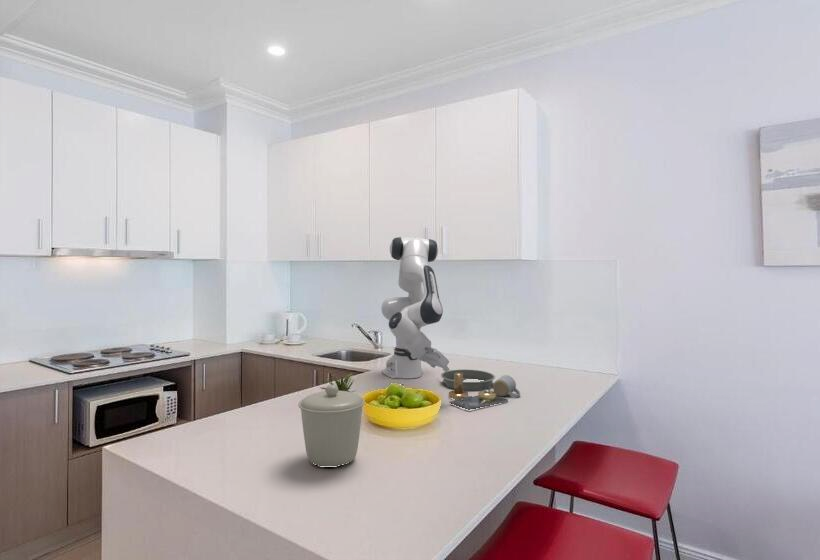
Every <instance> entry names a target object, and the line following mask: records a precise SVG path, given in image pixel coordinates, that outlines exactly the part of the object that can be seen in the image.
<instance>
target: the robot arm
mask: <svg viewBox="0 0 820 560" xmlns="http://www.w3.org/2000/svg"><path fill="white" fill-rule="evenodd" d="M391 240H392V241H391V242H390V244H389V253H390V255H391V258H392V259H393V260H397V261H400V263H399V269H398V281H397V283H398V287H399V288H400V289H401V290H402V291H404V292H406V293H408V295H407V296H401V297H399V296H398V297H390V298H386V299H384V300H383V302H382V304H381V313H382V316H384V318H385V319H386V320H388V329H389V330H390V332H391V333H392V335H393V336H394V337H395V347H394V348H393V351H394V352H393V354H392V356H391V357H389V358H388V359H387V360H386V363H385V364H386V366H385V368H384V369H382V370H381V373H382V374H383V375H385V376H387V377H389V378H392V379H404V380H405V379H417V378H420V377H422V375H423V373H424V372H423V370H422V363H421V362H424V363H426V364H428V365H429V366H430V367H431V368H434V369H435V368H436V367H439V368H441V369H442V371H443V372H448V371H450V368H449V367H448V365H449V363H450V360H449V359H448V358H447V357H446V356H445V355H444V354H443V353H442V352H441V351H440V350H439V349H436V348H434V347H432V341H431V340H430V339H429V338H428V337H427V335H425V333H424V332H423V331H421V328H422V327H425V326H428V325H432V324H436V323H439V322H440V321H441V318H442V316H443V313H444V309H443V305H442V302H441V301H440V300H441V299H440V296H439V295H440V294H439V289H438V284H437V278H436V275H435V272H434V269H433V268H432V267H431V266H430V265H429V263H431V262H434V261H435V260H436V259H437V257H438V254H439V246H438V243H437V241H436V240H435V239H429V238H428V239H427V238H422V237H401V236H399V237H394V238H392V239H391ZM422 285H423V287H422Z"/></svg>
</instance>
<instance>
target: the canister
mask: <svg viewBox="0 0 820 560" xmlns="http://www.w3.org/2000/svg"><path fill="white" fill-rule="evenodd" d="M325 388H326V389H324V390H322V391H317V392H314V393H311V394H309V395H307V396H305V397H304V398H303V399H302V398H301V400H299V401H298V408H299V409H300V413H301V414H300V415H301V421H302V422H301V423H302V431H303V439H304V445H305V451H306V452H305V453H306V456H307V459H308V461H309V462H310V463H311V464H312V463H314V464H316V465H319V466H338V465H342V464H346V463H348V462H350V461H351V462H353V461H354V460H355V458H356V456H357V453H358V448H359V442H360V441H359V440H360V433H361V426H362V424H361V423H362V415H363V413H362V412H363V406H364V405H365V403H366V400H365V398H364V397H362V396H360V395H358V394H357V393H355V392H352V391H351V392H348V391H349V390H348V391H338V387H337V385H336V384H334V385H331V384H328V385H327V386H326V387H325ZM351 462H350V463H351Z"/></svg>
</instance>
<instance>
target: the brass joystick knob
mask: <svg viewBox="0 0 820 560" xmlns="http://www.w3.org/2000/svg"><path fill="white" fill-rule="evenodd" d="M463 396H469V392H468V391H467V390H463V373H454V389H453V390H450V391H449V392H448V398H449V397H450V398H453V399H456V398H458V397H461V399H463Z"/></svg>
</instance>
